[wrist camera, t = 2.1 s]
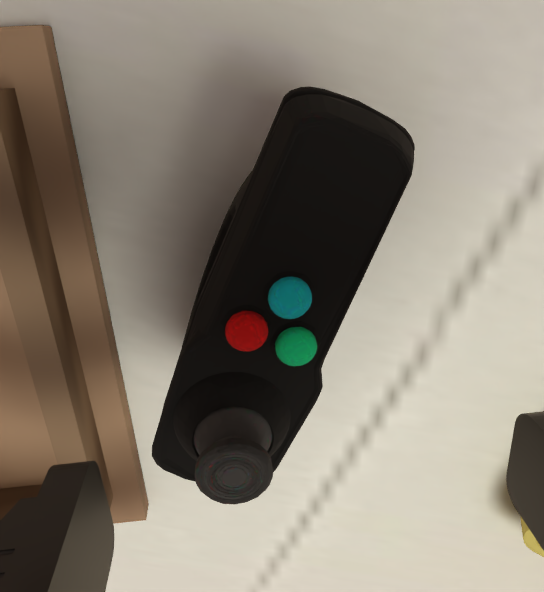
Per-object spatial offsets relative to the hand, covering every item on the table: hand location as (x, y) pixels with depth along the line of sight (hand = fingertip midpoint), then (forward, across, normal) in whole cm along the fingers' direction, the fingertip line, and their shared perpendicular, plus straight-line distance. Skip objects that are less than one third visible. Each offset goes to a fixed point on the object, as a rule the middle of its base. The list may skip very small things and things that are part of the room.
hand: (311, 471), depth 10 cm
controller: (+13, 0, -1) cm, 13 cm away
